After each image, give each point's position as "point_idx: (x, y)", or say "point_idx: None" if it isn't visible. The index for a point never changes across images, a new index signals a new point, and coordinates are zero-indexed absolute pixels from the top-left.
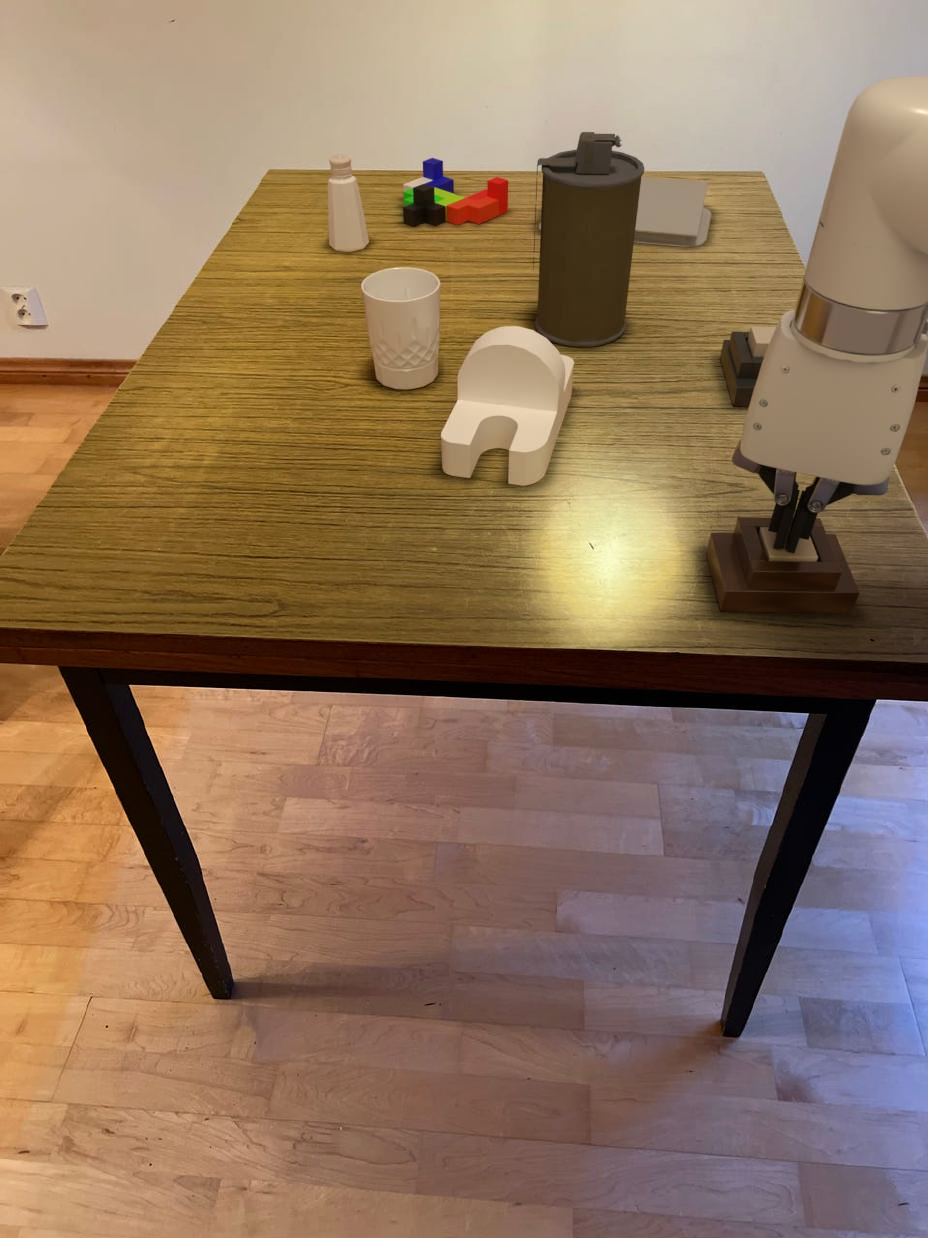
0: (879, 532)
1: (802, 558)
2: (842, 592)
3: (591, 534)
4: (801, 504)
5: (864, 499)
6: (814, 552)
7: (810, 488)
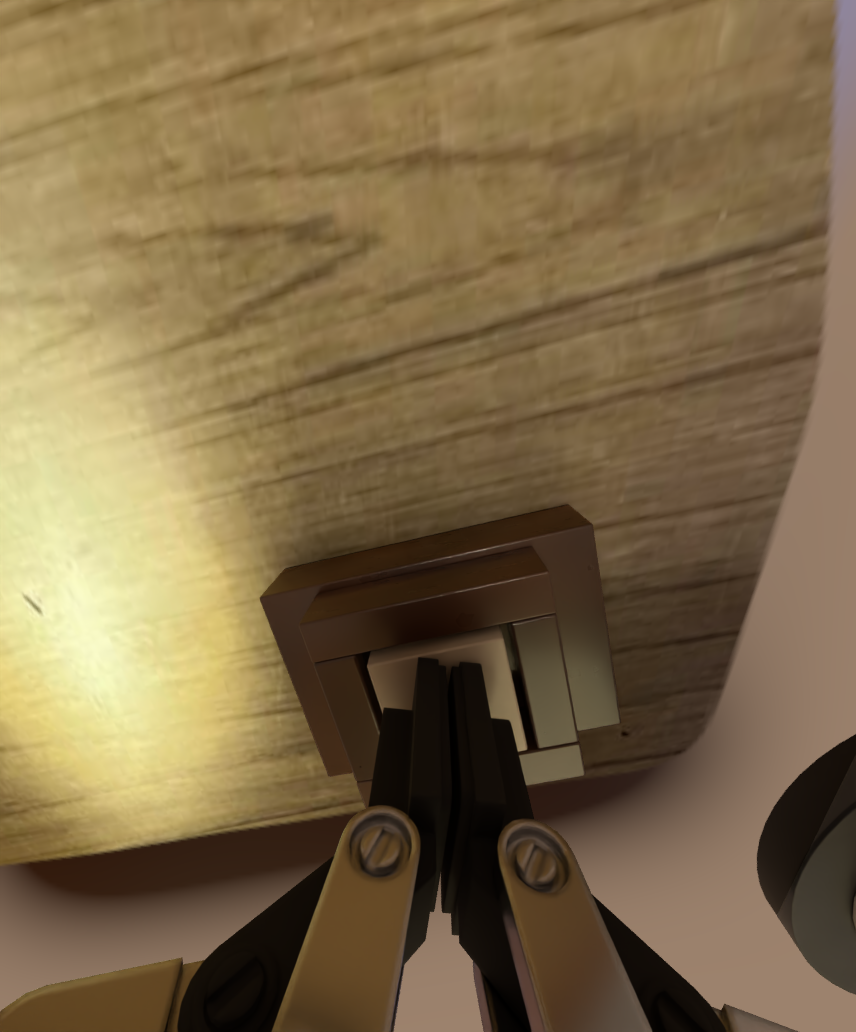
0: (720, 373)
1: None
2: (581, 730)
3: (14, 565)
4: (456, 883)
5: (713, 200)
6: (519, 738)
7: (486, 915)
